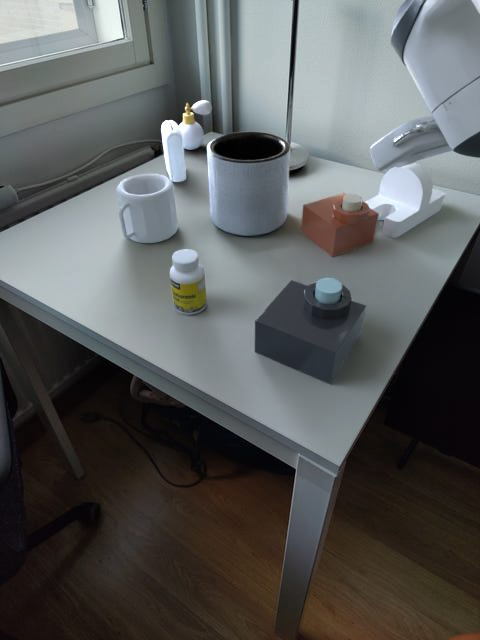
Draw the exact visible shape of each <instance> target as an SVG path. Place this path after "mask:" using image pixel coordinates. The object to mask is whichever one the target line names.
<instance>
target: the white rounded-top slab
mask: <svg viewBox="0 0 480 640" xmlns="http://www.w3.org/2000/svg"><path fill="white" fill-rule="evenodd" d="M160 132H161V139H162V146H163V156H164V162H165V168H166V172H167V174H168V176H169V177H168V178H169V179H170V180H171V181H172V182H174V183H182V182H185V181H186V180H187V169H186V168H187V167H186V159H185V148H184V147H183V137H182V133H181V130H180V128H179V125H178V123H177V122H176V121H174V120H172V119H170V120H165V121H163V122H162V124H161V128H160Z"/></svg>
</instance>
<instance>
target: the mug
mask: <svg viewBox="0 0 480 640" xmlns="http://www.w3.org/2000/svg"><path fill="white" fill-rule="evenodd" d="M116 196H117V200H118V203H119V207H120V209H119V210H118V218H119V223H120V227H121V232H122V237H123V238H124V239H128V240H131V241H133V242H136V243H142V244H155V243H159V242H164V241H166V240H168V239H170V238H172V237H173V236H174V235H176V233H177V231H178V229H179V222H178V214H177V206H176V197H175V187H174V183H173V181H172V180H171V179H170V177H168V176H165V175H163V174H159V173H142V174H136V175H132V176H128V177H126V178H125V179H123V180H121V181H119V183H118V185H117V187H116Z"/></svg>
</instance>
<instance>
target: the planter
mask: <svg viewBox="0 0 480 640" xmlns="http://www.w3.org/2000/svg"><path fill="white" fill-rule="evenodd" d="M206 157H207V172H208V192H209V193H208V194H209V212H210V218H211V221H212V223H213V224H214V225H215V227H217V228H219V229H220V230H222V231H224V232H226V233H229V234H231V235H236V236H242V237H243V236H244V237H254V236H255V237H256V236H261V235H266V234H269V233H271V232H273V231H275V230H278V229H279V228H280V227H282V226H283V224H285V222H286V221H287V217H288V214H289V213H288V211H289V186H290V162H291V144H290V143H289V141H287V139H285V138H284V137H282V136H279V135H276V134H273V133H270V132H264V131H251V130H250V131H249V130H248V131H236V132H229V133H225V134H223V135H220V136H217V137H215V138H214V139H212V140H211V141H210V142H209V143H208V144H207V146H206Z"/></svg>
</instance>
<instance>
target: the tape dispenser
mask: <svg viewBox="0 0 480 640" xmlns="http://www.w3.org/2000/svg"><path fill="white" fill-rule="evenodd" d="M445 196H446V192H444V191H443V190H441V189H437V188H434V187H433V180H432V177H431V174H430V173H429V171H428V169H426V167H424V166H423V165H421V164H419V163H418V162H414V163H413V164H410V165H406V166H403V167H400V168H397V167H394V168H390V169H388V170H387V172H385V173H384V174H383V176H382V178H381V181H380V185H379V189H378V193H377V195H375V196H373V197H371V198H369V199H367V200H366V201H364V202H365V203H367V204H368V206H369V208H371V209H372V210H374V211H376V212H377V213H379V215H378V220H377V222H378V221H383V224H382V230H381V234H382V235H384V236H385V237H388V238H391V239H397V238H399V237H400V236H402V235H404V234H405V233H407V232H409V231H410V230H411V229H413V228H414V227H416V226H418V225H419V224H421V223H422V222H424V221H426V220H427V219H429V218H431V217H432V216H433V215H436V214H437V213H439V212H440V211H441V209H442V205H443V203H444V199H445Z"/></svg>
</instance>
